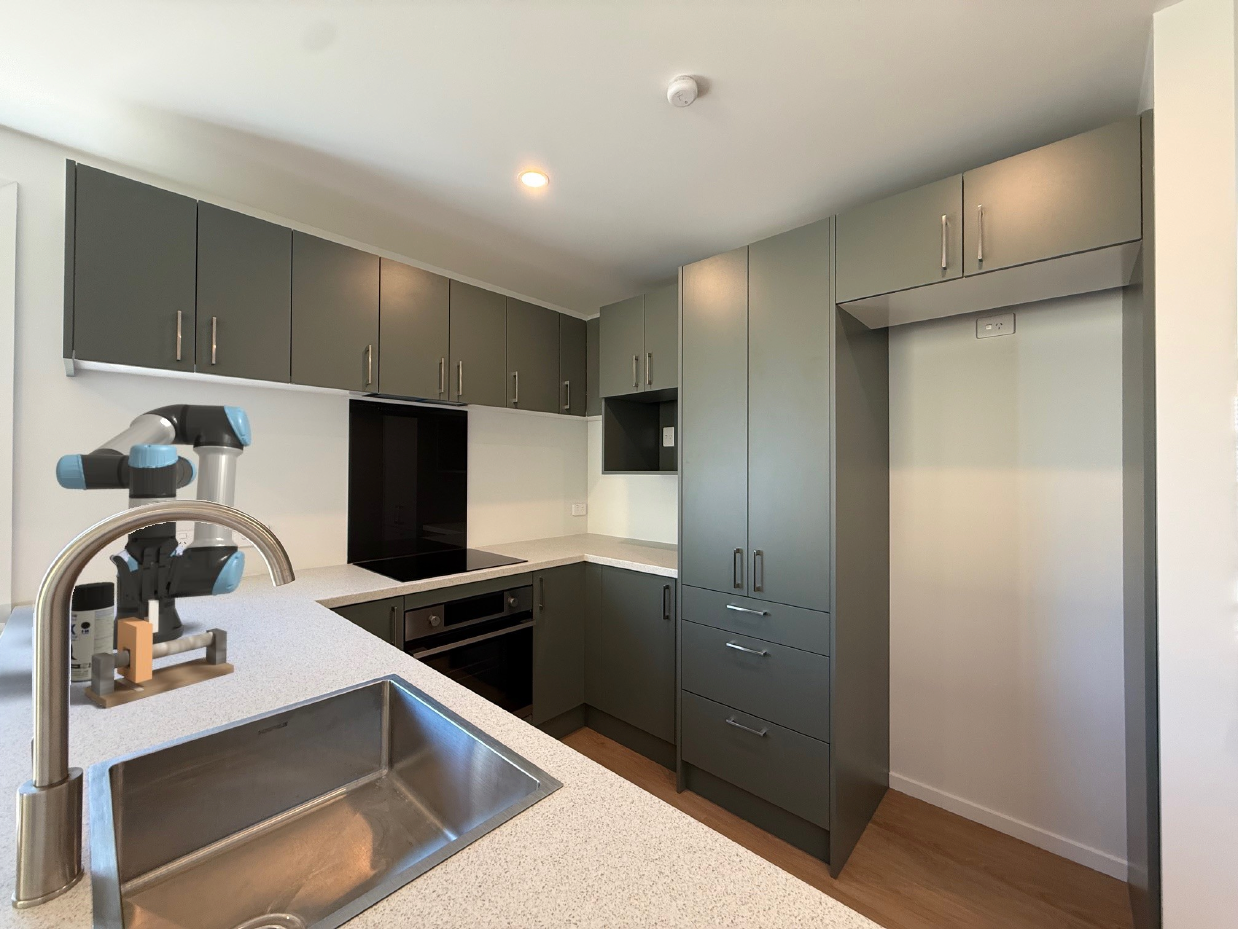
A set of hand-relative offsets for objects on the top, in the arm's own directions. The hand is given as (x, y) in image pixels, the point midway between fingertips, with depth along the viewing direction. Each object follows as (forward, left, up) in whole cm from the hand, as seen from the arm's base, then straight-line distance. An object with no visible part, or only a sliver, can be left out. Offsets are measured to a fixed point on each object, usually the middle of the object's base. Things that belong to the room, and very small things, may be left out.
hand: (151, 631), depth 109 cm
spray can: (-18, -4, -12) cm, 22 cm away
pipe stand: (0, +2, -11) cm, 12 cm away
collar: (0, -3, -8) cm, 9 cm away
